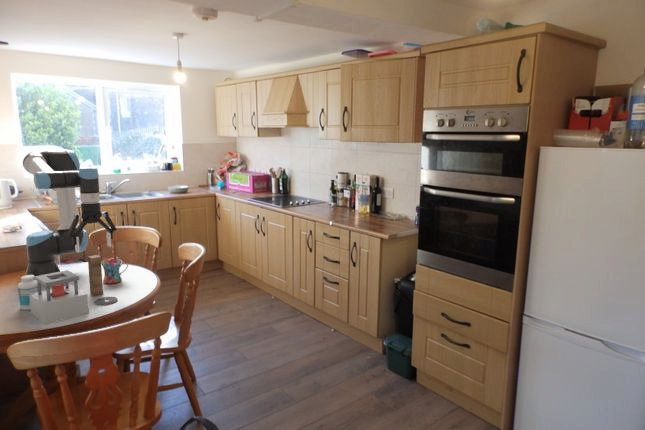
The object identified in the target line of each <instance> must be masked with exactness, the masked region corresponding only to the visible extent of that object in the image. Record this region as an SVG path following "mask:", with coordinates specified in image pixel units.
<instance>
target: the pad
mask: <svg viewBox="0 0 645 430" xmlns="http://www.w3.org/2000/svg"><path fill="white" fill-rule="evenodd" d="M117 302H118V298H117V297H116V296H104V297H100V298H97V299H95V300H94V305H96V306H109V304H110V305H113V304H115V303H117Z"/></svg>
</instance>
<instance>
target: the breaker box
mask: <svg viewBox="0 0 645 430" xmlns="http://www.w3.org/2000/svg"><path fill="white" fill-rule="evenodd" d="M54 278H55V279H54ZM51 279H52V280H51ZM35 280H36V281H37V285H38V292H37V293H33V294H29V298H30V308H31V310H30V314H31V315H33V316H34V317H35V318H37V320H39V321H40V322H42V323H43V324H44V325H47V324H51V323H55V322H58V321H62V320H65V319H69V318H74V317H76V316H80V314H81V315H84V313H85V314H87V313H89V312H90V310H89V297H88V293H87V292H86V291H83V290H82V289H80V288H79V284H78V283H79V282H78V281H79V280H80V276H79V275H77V274H75V273H73V272H72V271H70V270H68V269H67V270H60V272H55V273H50V274H45V275H40V276H35ZM71 282H73V284H69V283H71ZM62 283H64V290H65V295H63V296H59V297H54V298H52V288H51V286H53V285H57V284H62ZM42 286H44V287H45V289H46V290H42ZM50 288H51V289H50Z"/></svg>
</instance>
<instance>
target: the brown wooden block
mask: <svg viewBox="0 0 645 430" xmlns="http://www.w3.org/2000/svg"><path fill="white" fill-rule="evenodd" d="M87 262H88V263H87V266H88V267H87V268H88V280H89V281H88V282H89V293H90V296H92V297H97V296H98V297H99V296H102V295H104V286H103V273H102V268H103V267H102V264H101V262H102V258H101V255H99V254H94V255H89V256H87Z"/></svg>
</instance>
